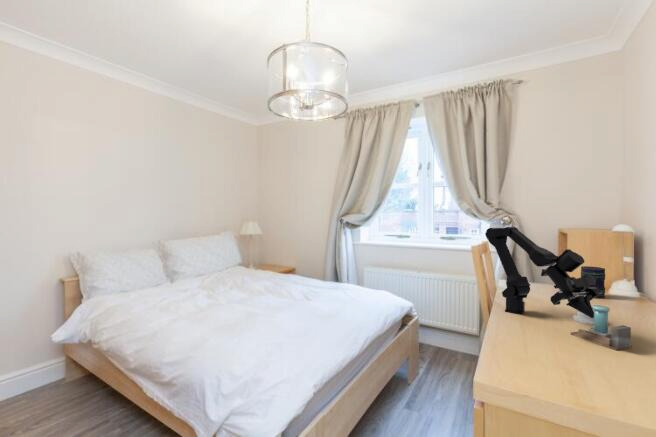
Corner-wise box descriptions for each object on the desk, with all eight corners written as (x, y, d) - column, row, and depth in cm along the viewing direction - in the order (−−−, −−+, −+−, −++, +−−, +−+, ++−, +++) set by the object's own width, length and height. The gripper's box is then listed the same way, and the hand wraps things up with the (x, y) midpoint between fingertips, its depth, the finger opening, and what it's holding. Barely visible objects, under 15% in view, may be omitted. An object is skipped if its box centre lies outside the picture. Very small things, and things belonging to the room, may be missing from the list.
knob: (587, 336, 107) (588, 305, 106) (596, 335, 108) (597, 304, 108) (604, 342, 102) (604, 309, 102) (613, 340, 103) (614, 308, 103)
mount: (570, 334, 111) (570, 315, 110) (585, 331, 113) (585, 313, 113) (616, 350, 97) (616, 329, 97) (632, 347, 100) (632, 327, 99)
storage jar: (600, 295, 164) (601, 267, 164) (608, 299, 155) (609, 270, 155) (577, 293, 168) (577, 265, 168) (583, 297, 159) (584, 268, 159)
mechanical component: (581, 325, 120) (612, 327, 118) (581, 314, 120) (612, 316, 118) (568, 317, 130) (595, 318, 127) (568, 306, 130) (596, 308, 127)
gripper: (558, 268, 109) (593, 308, 98) (595, 265, 114) (632, 303, 104) (537, 285, 117) (567, 324, 106) (573, 282, 122) (605, 319, 112)
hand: (593, 317), depth 107 cm, fingers closed, pressing on knob
